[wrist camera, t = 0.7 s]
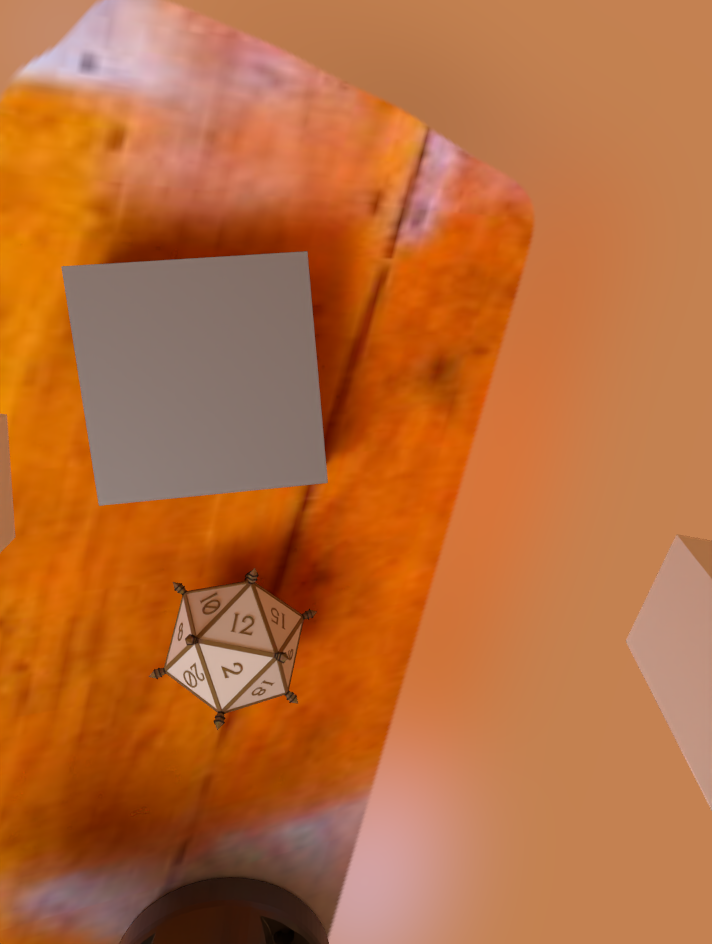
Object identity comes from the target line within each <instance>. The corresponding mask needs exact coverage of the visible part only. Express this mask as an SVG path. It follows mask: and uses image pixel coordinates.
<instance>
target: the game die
mask: <svg viewBox="0 0 712 944" xmlns="http://www.w3.org/2000/svg"><path fill="white" fill-rule="evenodd" d="M245 577H246V578H245V580H246V581H244V582H238V583H232V584H226V585H220V586H215V587H209V588H203V589H197V590H191V591H186V589H185V588H184V587H185V586H183V585H182V583H181V584H180V583H175V582H173V584H174V588H175V591H177V592H178V593H180V594H182V595H183V596H182V600H181V604H180V608H179V612H178V616H177V620H176V624H175V627H174V631H173V635H172V639H171V643H170V647H169V651H168V655H167V659H166V663H165V666H164V668H158V669H157V670H155V669H154V671H153V672H152V673H151V675H150V676H149V677H152V678H157V679H158V678H159V677H162V676H163V675H164V674H168V675H169V676H170V677H171V678H173V679H174V680H175V681H177V682H178V683H179V684H181V685H182V686H183V687H185V688H186V689H187V690H189V691H190V692H191V693H193V694H194V695H195V696H196V697H198V698H199V699H200V700H202V701H203V702H204V703H206V704H207V705H208V706H210V707H211V708H212V709H214V710H215V711H216V712H218V714H217V715H216V716H215V720H214V723H215V725H216V728H217V730H218V729H219V728H220V727H221V726H222V725H223V724H224V723H225V722H224V719H225V717H224V714H225V713H228V712H231V711H234V710H238V709H241V708H244V707H247V706H250V705H253V704H257V703H260V702H263V701H266V700H269V699H272V698H276V697H279V696H282V695H285V696H286V697H287V700H289V701H290V702H289V703H291V702H292V703H298V701H297V695H294V693H293V692H290V691H289V687H290V682H291V677H292V672H293V668H294V663H295V658H296V654H297V649H298V644H299V639H300V635H301V630H302V625H303V621H304V619H309V618H313V616H314V615H315V614H316V613H317V611H313V610H310V609H309V610H308V611H305V613H303V614H301V613H299V612H298V611H296V610H295V609H293V608H292V607H290V606H289V605H287V604H286V603H284V602H283V601H281V600H280V599H279V598H277V597H276V596H274V595H273V594H271V593H270V592H268V591H267V590H265V589H264V588H262V587H261V586H259V585H258V584H257V583H255V581H256V580H257V577H258V573H257V572H256V569H255V568H254V569H253V570H252V571H250V572H249V573H247V574H246V575H245Z"/></svg>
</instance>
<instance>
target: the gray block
mask: <svg viewBox="0 0 712 944" xmlns="http://www.w3.org/2000/svg"><path fill="white" fill-rule="evenodd" d="M62 272H63V279H64V285H65V291H66V298H67V304H68V311H69V317H70V323H71V330H72V336H73V343H74V349H75V355H76V362H77V368H78V375H79V381H80V387H81V394H82V400H83V407H84V413H85V419H86V426H87V432H88V439H89V445H90V451H91V458H92V464H93V471H94V477H95V483H96V490H97V496H98V503H99V506H100V505H110V504H120V503H130V502H140V501H150V500H160V499H170V498H180V497H190V496H201V495H211V494H221V493H231V492H241V491H251V490H261V489H271V488H281V487H291V486H301V485H311V484H321V483H328V480H327V469H326V457H325V446H324V435H323V423H322V412H321V400H320V389H319V378H318V366H317V355H316V343H315V332H314V321H313V309H312V298H311V286H310V275H309V264H308V252H307V251H304V252H288V253H272V254H256V255H239V256H223V257H207V258H191V259H175V260H159V261H143V262H127V263H111V264H95V265H79V266H63V267H62Z"/></svg>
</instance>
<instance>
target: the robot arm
mask: <svg viewBox="0 0 712 944" xmlns="http://www.w3.org/2000/svg"><path fill="white" fill-rule="evenodd" d="M14 538H15V527H14V512H13V498H12V483H11V469H10V454H9V440H8V425H7V415H5V414H0V552H1V551H2V550H3V549H4V548H5V547H6V546H7V545H8V544H9V543H10V542H11V541H12V540H13V539H14ZM626 642H627V644H628V647H629V648H630V650H631V652H632V654H633V656H634V658H635V660H636V662H637V664H638V666H639V668H640V670H641V672H642V674H643V676H644V678H645V680H646V682H647V684H648V686H649V688H650V690H651V692H652V694H653V696H654V698H655V700H656V702H657V704H658V706H659V707H660V710H661V712H662V714H663V716H664V717H665V719H666V721H667V723H668V725H669V727H670V729H671V731H672V733H673V735H674V737H675V739H676V741H677V743H678V745H679V747H680V749H681V751H682V753H683V755H684V757H685V759H686V761H687V763H688V765H689V767H690V769H691V771H692V773H693V775H694V776H695V779H696V781H697V783H698V784H699V786H700V788H701V790H702V792H703V794H704V796H705V798H706V800H707V802H708V804H709V806H710V808H711V810H712V541H710V540H704V539H699V538H693V537H688V536H682V535H676V537H675V539H674V541H673V543H672V545H671V547H670V549H669V551H668V553H667V556H666V558H665V560H664V562H663V564H662V566H661V568H660V570H659V573H658V575H657V577H656V579H655V581H654V583H653V585H652V587H651V589H650V591H649V593H648V596H647V598H646V600H645V602H644V604H643V606H642V608H641V610H640V612H639V614H638V616H637V619H636V621H635V623H634V625H633V627H632V629H631V631H630V633H629V635H628V637H627V640H626ZM119 944H329V942H328V939H327V936H326V933H325V931H324V928H323V927H322V925H321V923H320V921H319V920H318V918H317V917H316V916H315V914H314V913H313V912H312V911H311V910H310V909H309V908H308V906H307V905H305V904H304V903H303V902H302V901H301V900H299V899H298V898H297V897H295V896H294V895H292V894H291V893H289V892H287V891H285V890H283V889H281V888H279V887H277V886H274V885H271V884H268V883H265V882H261V881H257V880H252V879H244V878H219V879H211V880H206V881H201V882H197V883H193V884H190V885H187V886H184V887H182V888H179V889H177V890H175V891H173V892H171V893H169V894H167V895H165V896H164V897H162V898H160V899H159V900H157V901H156V902H154V903H153V904H152V905H150V906H149V907H148V908H147V909H146V910H144V911H143V912H142V913H141V914H140V915H139V916H138V917H137V918H136V919H135V921H134V922H133V923H132V924H131V926H130V927H129V928H128V930H127V931H126V933H125V934H124V936H123V938H122V940H121V941H120V943H119Z"/></svg>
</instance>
